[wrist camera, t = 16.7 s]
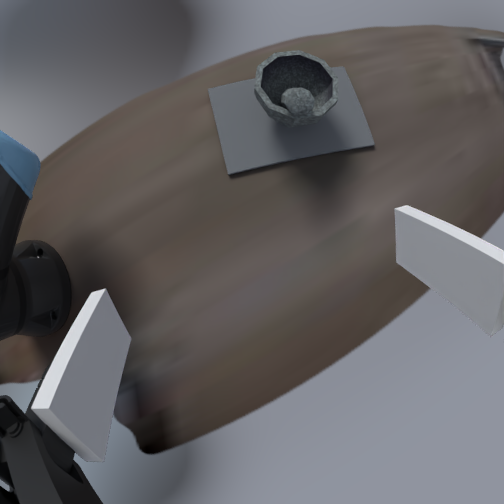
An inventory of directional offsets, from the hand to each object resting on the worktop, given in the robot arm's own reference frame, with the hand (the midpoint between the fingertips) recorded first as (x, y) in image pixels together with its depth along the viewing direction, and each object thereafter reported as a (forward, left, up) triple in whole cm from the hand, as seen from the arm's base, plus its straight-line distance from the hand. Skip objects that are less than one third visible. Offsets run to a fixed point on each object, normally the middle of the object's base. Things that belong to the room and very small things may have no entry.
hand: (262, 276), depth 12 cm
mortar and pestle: (+9, +17, -24) cm, 31 cm away
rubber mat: (+9, +17, -24) cm, 31 cm away
